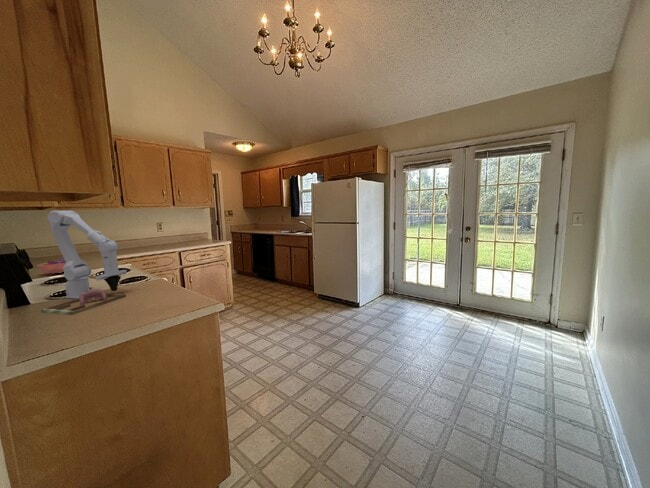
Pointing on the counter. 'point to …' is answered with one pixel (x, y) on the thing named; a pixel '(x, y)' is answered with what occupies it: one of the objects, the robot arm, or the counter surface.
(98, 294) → the video game controller
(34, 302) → the counter surface
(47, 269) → the cell model
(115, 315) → the counter surface
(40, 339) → the counter surface
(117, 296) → the shallow wooden tray
